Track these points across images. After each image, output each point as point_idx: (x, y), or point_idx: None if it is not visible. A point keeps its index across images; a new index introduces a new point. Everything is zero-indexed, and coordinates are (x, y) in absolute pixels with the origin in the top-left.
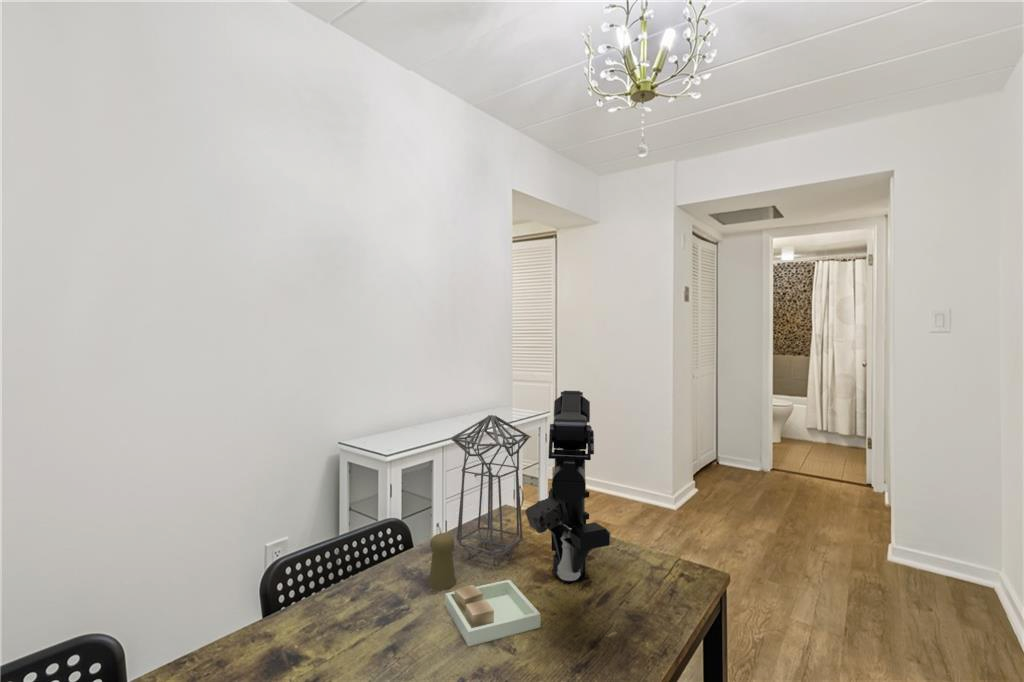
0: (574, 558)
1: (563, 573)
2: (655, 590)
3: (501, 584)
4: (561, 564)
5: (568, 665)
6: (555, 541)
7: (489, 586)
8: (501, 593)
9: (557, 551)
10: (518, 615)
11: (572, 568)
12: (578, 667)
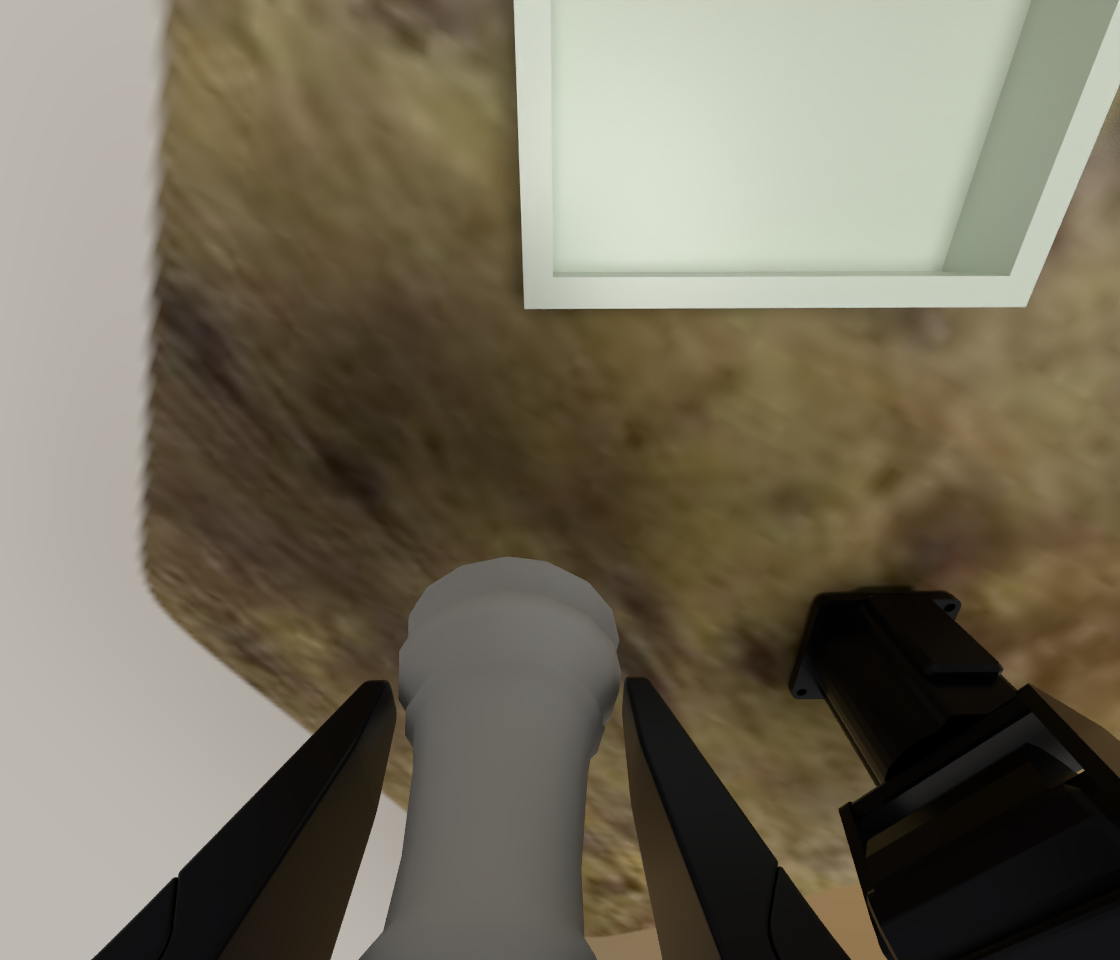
0: (186, 878)
1: (448, 604)
2: (592, 803)
3: (1025, 217)
4: (494, 665)
5: (215, 291)
6: (762, 934)
7: (1080, 86)
8: (967, 220)
9: (690, 766)
10: (693, 226)
11: (357, 712)
12: (195, 331)
